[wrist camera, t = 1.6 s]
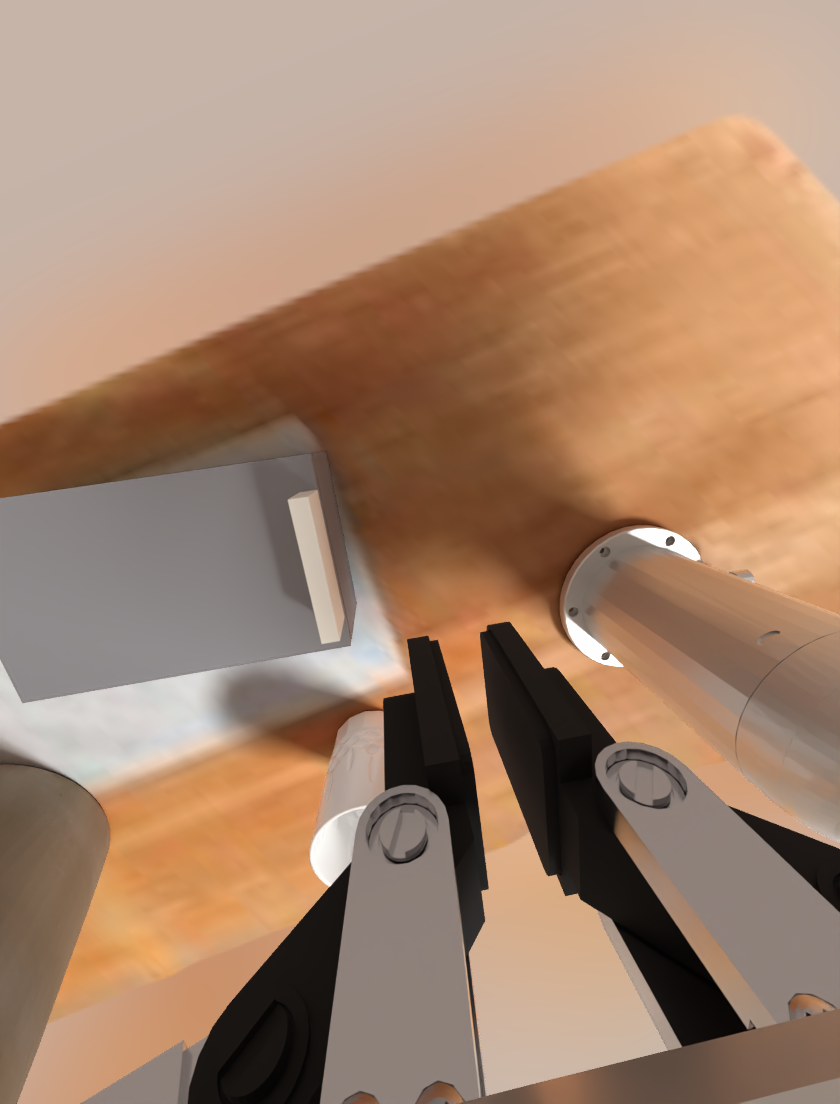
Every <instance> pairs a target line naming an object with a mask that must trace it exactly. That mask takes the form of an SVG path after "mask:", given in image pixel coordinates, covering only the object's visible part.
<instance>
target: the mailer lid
mask: <svg viewBox="0 0 840 1104" xmlns="http://www.w3.org/2000/svg"><path fill="white" fill-rule="evenodd" d="M346 646H351V638H350V633H349V628H348V623H347V619H346V614H345V609H344V604H343V600H342V595H341V590H340V586H339V581H338V576H337V571H336V567H335V562H334V557H333V552H332V548H331V543H330V538H329V533H328V529H327V524H326V519H325V515H324V510H323V505H322V500H321V496H320V491H319V486H318V481H317V477H316V472H315V467H314V463H313V458H312V453H309V454H302V455H296V456H289V457H282V458H275V459H268V460H261V461H254V462H247V463H240V464H233V465H226V466H219V467H213V468H206V469H199V470H192V471H185V472H178V473H171V474H164V475H157V476H150V477H143V478H137V479H130V480H123V481H116V482H109V483H102V484H95V485H88V486H81V487H74V488H67V489H61V490H54V491H47V492H40V493H33V494H26V495H19V496H12V497H5V498H0V660H1V661H2V663H3V665H4V667H5V669H6V671H7V673H8V675H9V677H10V679H11V681H12V683H13V685H14V687H15V689H16V691H17V693H18V695H19V697H20V699H21V701H22V703H26V702H32V701H37V700H43V699H49V698H54V697H60V696H66V695H72V694H77V693H83V692H89V691H95V690H100V689H106V688H112V687H117V686H123V685H129V684H135V683H140V682H146V681H152V680H158V679H163V678H169V677H175V676H180V675H186V674H192V673H198V672H203V671H209V670H215V669H221V668H226V667H232V666H238V665H243V664H249V663H255V662H261V661H266V660H272V659H278V658H284V657H289V656H295V655H301V654H306V653H312V652H318V651H324V650H329V649H335V648H341V647H346Z"/></svg>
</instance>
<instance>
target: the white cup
mask: <svg viewBox="0 0 840 1104" xmlns="http://www.w3.org/2000/svg"><path fill="white" fill-rule="evenodd" d="M383 792H385V780H384V715H383V711H364V712H362V713H359V714H357V715H355V716H353V717H350V718H349V719H348V720H347V721H346V722H345V723H344V724H343V725H342V726H341V727H340V728H339V730H338V733H337V737H336V740H335V744H334V749H333V753H332V756H331V758H330V760H329V765H328V769H327V773H326V777H325V781H324V786H323V790H322V795H321V800H320V804H319V809H318V813H317V818H316V822H315V827H314V832H313V836H312V841H311V845H310V851H309V857H310V863H311V866H312V869H313V871H314V872H315V874H316V875H317V877H318V878H319V879H320V880H321V881H322V882H323V883H325V884H326V885H327V886H329V887H330V886H331V885H332V884H333V882H334V881H335V880H336V879H337V878H338V877H339V875H340V874H341V873H342V872H343V871H344V870H345V869H346V867H347V866H348V865H349V864H350V863H351V862H352V855H353V847H354V839H355V832H356V828H357V825H358V821H359V818H360V816H361V815H362V813H363V811H364V810H365V808H366V806H367V805H368V804H369V803H370V802H371V801H372V800H373V799H374V798H375V797H377V796H378V795H379V794H381V793H383Z"/></svg>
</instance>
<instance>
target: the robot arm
mask: <svg viewBox="0 0 840 1104" xmlns="http://www.w3.org/2000/svg"><path fill="white" fill-rule="evenodd" d="M600 550H601V551H600ZM560 617H561V622H562V626H563V628H564V630H565V632H566V635H567V636H568V638H569V639H570V640H571V642H572V643H573V644H574V645H575V646H576V647H577V648H578V649H579V650H580V651H581V652H582V653H583V654H584V655H586V656H587V657H589V658H590V659H592V660H594V661H596V662H598V663H601V664H604V665H610V666H615V667H616V666H624V667H625V668H626V669H627V670H628V671H629V672H630V673H631V674H632V675H634V676H635V677H636V678H637V679H638V680H639V681H640V682H641V683H642V684H643V685H644V686H646V687H647V688H648V689H649V690H650V691H651V692H652V693H653V694H654V695H655V696H657V697H658V698H659V699H660V700H661V701H662V702H663V703H664V704H665V705H666V706H667V707H669V708H670V709H671V710H672V711H673V712H674V713H675V714H676V715H677V716H678V717H679V718H681V719H682V720H683V721H684V722H685V723H686V724H687V725H688V726H689V727H690V728H692V729H693V730H694V731H695V732H696V733H697V734H698V735H699V736H700V737H701V738H702V739H704V740H705V741H706V742H707V743H708V744H709V745H710V746H711V747H712V748H713V749H714V750H716V751H717V752H718V753H719V754H720V755H721V756H722V757H723V758H724V759H725V760H727V761H728V762H729V763H730V764H731V765H732V766H733V767H734V768H735V769H736V770H737V771H739V772H740V773H741V774H742V775H743V776H744V777H745V778H746V779H747V780H748V781H750V782H751V783H752V784H753V785H754V786H755V787H756V788H758V789H759V790H760V791H761V792H762V793H763V794H764V795H765V796H766V797H768V798H769V799H770V800H771V801H772V802H773V803H775V804H776V805H777V806H778V807H779V808H781V809H782V810H783V811H784V812H786V813H787V814H788V815H789V816H791V817H792V818H794V819H795V820H797V821H798V822H800V823H801V824H803V825H804V826H806V827H808V828H810V829H811V830H813V831H815V832H817V833H819V834H821V835H823V836H824V837H826V838H828V839H831V840H833V841H836V842H838V843H840V614H837V613H835V612H832V611H829V610H826V609H824V608H821V607H818V606H816V605H813V604H810V603H808V602H805V601H802V600H800V599H797V598H794V597H792V596H789V595H786V594H783V593H781V592H778V591H775V590H773V589H770V588H767V587H765V586H762V585H759V584H757V583H754V576H753V575H752V573H751V572H750V571H748V570H739V571H733V572H728V573H727V572H724V571H722V570H719V569H716V568H714V567H711V566H708V565H706V564H703V561H702V559H701V557H700V555H699V553H698V551H697V550H696V548H695V547H694V546H693V545H692V544H691V543H690V542H689V541H688V540H687V539H685V538H684V537H682V536H681V535H679V534H678V533H675V532H673V531H670V530H667V529H664V528H660V527H656V526H652V525H635V526H629V527H624V528H621V529H618V530H615V531H612V532H610V533H608V534H606V535H605V536H603V537H601V538H599V539H598V540H596V541H595V542H594V543H593V544H591V545H590V546H589V547H588V548H586V549H585V550H584V551H583V553H582V554H581V555H580V556H579V557H578V558H577V559H576V561H575V562H574V564H573V565H572V567H571V569H570V570H569V572H568V574H567V576H566V579H565V581H564V584H563V586H562V591H561V596H560ZM480 640H481V650H482V659H483V669H484V678H485V688H486V697H487V707H488V716H489V724H490V728H491V732H492V735H493V738H494V741H495V743H496V746H497V749H498V751H499V754H500V756H501V759H502V761H503V764H504V767H505V769H506V772H507V774H508V777H509V780H510V782H511V785H512V787H513V790H514V792H515V795H516V798H517V800H518V803H519V805H520V808H521V811H522V813H523V816H524V818H525V821H526V824H527V826H528V829H529V831H530V834H531V836H532V839H533V841H534V844H535V847H536V849H537V852H538V855H539V857H540V860H541V862H542V865H543V867H544V870H545V872H546V874H547V875H548V876H552V875H557V877H558V879H559V881H560V884H561V887H562V889H563V891H564V894H565V896H568V895H572V894H577V893H578V895H579V897H580V899H581V900H582V901H584V902H586V903H587V904H589V905H590V906H592V907H593V908H595V909H597V910H598V914H599V916H600V919H601V922H602V924H603V927H604V929H605V931H606V933H607V935H608V937H609V939H610V941H611V943H612V944H613V946H614V948H615V950H616V952H617V954H618V956H619V958H620V960H621V962H622V964H623V965H624V967H625V969H626V971H627V973H628V975H629V977H630V979H631V981H632V983H633V984H634V986H635V988H636V990H637V992H638V994H639V996H640V998H641V1000H642V1002H643V1003H644V1005H645V1007H646V1009H647V1011H648V1013H649V1015H650V1017H651V1019H652V1021H653V1023H654V1025H655V1026H656V1028H657V1030H658V1032H659V1034H660V1036H661V1038H662V1040H663V1042H664V1044H665V1046H666V1047H667V1049H668V1051H664V1052H660V1053H656V1054H653V1055H648V1056H644V1057H640V1058H636V1059H633V1060H628V1061H624V1062H620V1063H616V1064H613V1065H608V1066H604V1067H600V1068H596V1069H592V1070H588V1071H584V1072H580V1073H576V1074H573V1075H568V1076H564V1077H560V1078H556V1079H552V1080H548V1081H544V1082H540V1083H536V1084H532V1085H528V1086H524V1087H521V1088H516V1089H512V1090H508V1091H505V1092H501V1093H497V1094H493V1095H489V1096H487V1093H486V1085H485V1076H484V1069H483V1060H482V1052H481V1044H480V1035H479V1027H478V1019H477V1011H476V1003H475V994H474V986H473V978H472V970H471V962H470V955H469V951H470V949H471V947H472V945H473V943H474V941H475V939H476V937H477V935H478V933H479V932H480V930H481V928H482V925H483V924H484V922H485V916H484V909H483V901H482V894H481V891H482V890H487V889H488V880H487V871H486V863H485V855H484V847H483V839H482V831H481V823H480V815H479V807H478V798H477V790H476V782H475V774H474V767H473V762H472V757H471V752H470V748H469V744H468V741H467V737H466V734H465V731H464V727H463V724H462V720H461V717H460V714H459V710H458V707H457V704H456V700H455V697H454V693H453V690H452V687H451V683H450V680H449V676H448V673H447V670H446V666H445V663H444V660H443V656H442V653H441V649H440V646H439V643H438V640H434V641H430V640H429V637H428V636H424V637H418V638H412V639H407V642H408V649H409V656H410V664H411V671H412V678H413V685H414V692H415V693H410V694H404V695H399V696H393V697H388V698H384V700H383V715H384V780H385V792H383V793H381V794H379V795H378V796H377V797H375V798H374V799H373V800H372V801H371V802H370V803H369V804H368V805H367V806H366V808H365V810H364V811H363V813H362V815H361V816H360V818H359V821H358V825H357V828H356V832H355V839H354V847H353V855H352V862H351V863H350V864H349V865H348V866H347V867H346V869H345V870H344V871H343V872H342V873H341V874H340V875H339V877H338V878H337V879H336V880H335V881H334V882H333V884H332V885H331V886H330V887H329V888H328V889H327V891H326V892H325V893H324V894H323V895H322V896H321V898H320V899H319V900H318V901H317V902H316V903H315V905H314V906H313V907H312V908H311V909H310V910H309V912H308V913H307V914H306V915H305V916H304V917H303V919H302V920H301V921H300V922H299V923H298V924H297V926H296V927H295V928H294V929H293V930H292V931H291V933H290V934H289V935H288V936H287V937H286V938H285V940H284V941H283V942H282V943H281V944H280V945H279V946H278V948H277V949H276V950H275V951H274V952H273V953H272V955H271V956H270V957H269V958H268V959H267V961H266V962H265V963H264V964H263V965H262V966H261V967H260V969H259V970H258V971H257V972H256V973H255V975H254V976H253V977H252V978H251V979H250V980H249V981H248V983H247V984H246V985H245V986H244V987H243V988H242V990H241V991H240V992H239V993H238V994H237V995H236V997H235V998H234V999H233V1000H232V1001H231V1002H230V1004H229V1005H228V1006H227V1008H226V1010H225V1011H224V1012H223V1013H222V1015H221V1016H220V1018H219V1019H218V1020H217V1022H216V1023H215V1025H214V1026H213V1027H212V1030H211V1031H210V1034H209V1036H207V1037H205V1038H204V1039H202V1040H201V1041H199V1042H198V1043H196V1044H194V1045H193V1046H191V1047H189V1048H187V1046H186V1044H185V1042H184V1040H183V1041H182V1042H180V1043H178V1044H177V1045H175V1046H174V1047H172V1048H170V1049H169V1050H167V1051H165V1052H164V1053H162V1054H160V1055H159V1056H158V1057H156V1058H154V1059H152V1060H151V1061H149V1062H147V1063H146V1064H144V1065H143V1066H141V1067H139V1068H138V1069H136V1070H135V1071H133V1072H131V1073H130V1074H128V1075H126V1076H125V1077H123V1078H122V1079H120V1080H118V1081H117V1082H115V1083H113V1084H112V1085H110V1086H109V1087H107V1088H105V1089H104V1090H102V1091H100V1092H99V1093H97V1094H96V1095H94V1096H93V1097H91V1098H89V1099H88V1100H86V1101H84V1102H83V1103H81V1104H840V849H839V848H836V847H833V846H831V845H828V844H826V843H823V842H820V841H818V840H815V839H813V838H810V837H807V836H805V835H802V834H800V833H797V832H795V831H792V830H789V829H787V828H784V827H781V826H779V825H777V824H774V823H771V822H769V821H766V820H763V819H761V818H758V817H756V816H753V815H751V814H748V813H745V812H743V811H740V810H738V809H735V808H732V807H730V806H728V805H726V804H725V803H724V802H723V801H722V800H721V799H720V798H719V797H718V796H717V795H716V794H715V793H714V792H713V791H712V790H711V789H709V787H707V786H706V785H705V784H704V783H703V782H702V781H701V780H700V779H699V778H698V777H697V776H696V775H695V774H694V773H693V772H692V771H691V770H690V769H689V768H688V767H687V766H685V765H684V764H683V763H682V762H680V761H679V760H678V759H677V758H675V757H674V756H673V755H671V754H669V753H667V752H665V751H663V750H661V749H659V748H657V747H654V746H650V745H647V744H644V743H636V742H621V743H616V742H615V741H614V739H613V738H612V737H611V735H610V734H609V733H608V732H607V730H606V729H605V728H604V727H603V725H602V724H601V723H600V722H599V720H598V719H597V718H596V716H595V715H594V714H593V713H592V711H591V710H590V709H589V708H588V706H587V705H586V704H585V703H584V701H583V700H582V699H581V698H580V696H579V695H578V694H577V692H576V691H575V690H574V689H573V687H572V686H571V685H570V684H569V682H568V681H567V680H566V679H565V677H564V676H563V675H562V673H561V672H560V671H559V670H558V669H557V668H554V667H552V668H546V669H544V668H543V667H542V665H541V664H540V663H539V661H538V660H537V658H536V657H535V656H534V654H533V653H532V652H531V650H530V649H529V647H528V646H527V645H526V643H525V642H524V641H523V639H522V638H521V637H520V635H519V634H518V632H517V631H516V630H515V628H514V627H513V626H512V624H511V623H510V622H504V623H498V624H492V625H487V631H485V632H481V633H480Z"/></svg>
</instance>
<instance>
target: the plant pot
mask: <svg viewBox="0 0 840 1104" xmlns="http://www.w3.org/2000/svg"><path fill="white" fill-rule="evenodd" d="M109 844H110V828H109V824H108V820H107V817H106V815H105V813H104V811H103V810H102V808H101V807H100V805H99V804H98V802H97V801H96V800H95V799H94V798H93V797H92V796H91V795H90V794H89V793H88V792H87V791H86V790H84V789H83V788H82V787H80V786H79V785H77V784H76V783H74V782H73V781H71V780H69V779H67V778H65V777H63V776H60V775H58V774H56V773H53V772H50V771H47V770H43V769H40V768H36V767H30V766H24V765H11V764H2V765H0V1104H17V1102H18V1099H19V1097H20V1094H21V1091H22V1089H23V1086H24V1083H25V1081H26V1078H27V1076H28V1073H29V1070H30V1068H31V1065H32V1062H33V1060H34V1057H35V1055H36V1052H37V1049H38V1047H39V1044H40V1041H41V1038H42V1036H43V1033H44V1030H45V1027H46V1025H47V1022H48V1019H49V1016H50V1014H51V1011H52V1008H53V1005H54V1003H55V1000H56V997H57V994H58V991H59V989H60V986H61V983H62V980H63V978H64V975H65V972H66V969H67V967H68V964H69V961H70V958H71V956H72V953H73V950H74V947H75V945H76V942H77V939H78V936H79V934H80V931H81V928H82V925H83V923H84V920H85V917H86V914H87V912H88V909H89V906H90V903H91V900H92V897H93V895H94V892H95V889H96V886H97V883H98V880H99V877H100V874H101V871H102V868H103V865H104V863H105V859H106V856H107V853H108V850H109Z"/></svg>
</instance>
